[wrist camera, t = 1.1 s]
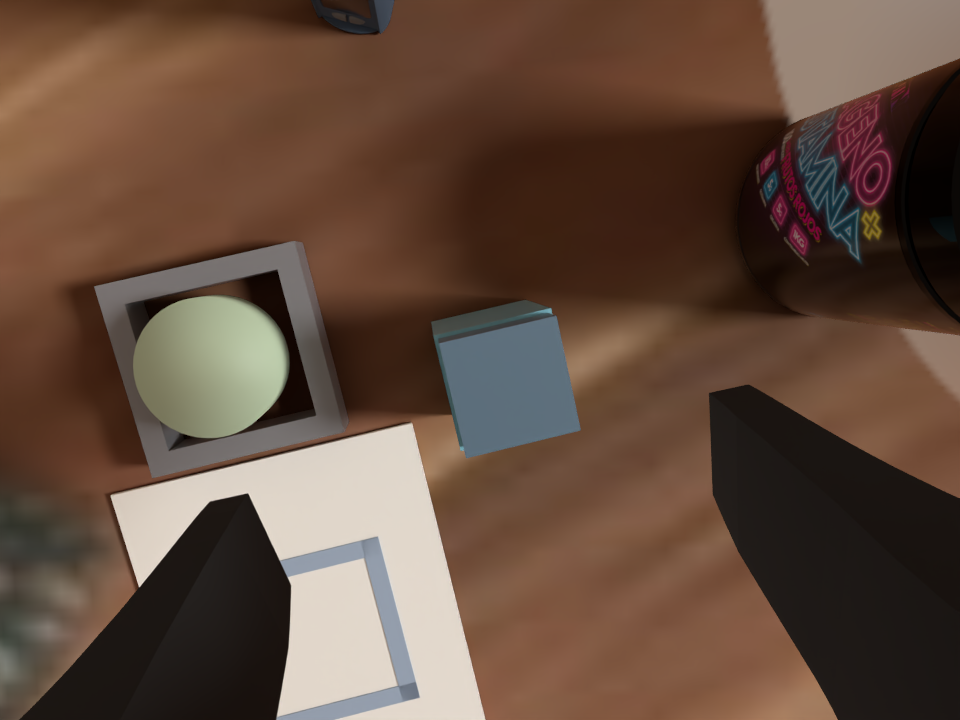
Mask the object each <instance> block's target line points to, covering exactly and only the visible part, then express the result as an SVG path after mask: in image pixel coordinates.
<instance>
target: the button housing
mask: <svg viewBox="0 0 960 720" xmlns="http://www.w3.org/2000/svg"><path fill="white" fill-rule="evenodd" d="M276 271H278V273H279V277H280V281H281V285H282V288H283V292H284V296H285V300H286V303H287V307H288V311H289V315H290V318H291V322H292V326H293V330H294V333H295V337H296V341H297V345H298V348H299V352H300V356H301V360H302V363H303V367H304V371H305V375H306V378H307V382H308V386H309V390H310V393H311V397H312V401H313V405H314V408H315V409H310V410H306V411H302V412H298V413H294V414H289V415H285V416H281V417H277V418H273V419H268V420H264V421H260V422H256V423H253V424H252V425H250V426H249V427H247V428H245V429H244V430H242V431H239V432H237V433H235V434H232V435H228V436H224V437H219V438H199V437H193V438H189V439H184V436H183V433H180V432H178V431H176V430H174V429H172V428H170V427H168V426H167V425H165V424H164V423H162V422H161V421H160V420H159V419H158V418H156V417H155V416H154V414H153V413H152V412H151V411H150V410H149V409H148V407H147V406H146V405H145V403H144V402H143V400H142V398H141V396H140V394H139V392H138V389H137V386H136V383H135V379H134V372H133V357H134V352H135V347H136V344H137V341H138V339H139V337H140V335H141V333H142V331H143V329H144V328H145V326H146V325H147V323H148V322H149V317H148V314H147V311H146V307H145V304H144V302H145V301H149V300H154V299H158V298H163V297H167V296H171V295H176V294H180V293H184V292H189V291H193V290H198V289H202V288H206V287H211V286H215V285H219V284H224V283H228V282H233V281H237V280H241V279H246V278H250V277H254V276H259V275H263V274H268V273H272V272H276ZM94 288H95V291H96V295H97V298H98V301H99V304H100V308H101V311H102V314H103V318H104V321H105V324H106V327H107V331H108V334H109V337H110V341H111V344H112V347H113V350H114V354H115V357H116V360H117V363H118V367H119V370H120V373H121V377H122V380H123V383H124V386H125V390H126V393H127V396H128V400H129V403H130V406H131V409H132V413H133V416H134V419H135V423H136V426H137V429H138V432H139V436H140V439H141V442H142V446H143V449H144V452H145V455H146V459H147V462H148V465H149V469H150V472H151V475H152V478H155V477H159V476H163V475H167V474H172V473H176V472H180V471H184V470H188V469H192V468H197V467H201V466H205V465H209V464H213V463H217V462H222V461H226V460H230V459H234V458H238V457H242V456H247V455H251V454H255V453H259V452H263V451H267V450H272V449H276V448H280V447H284V446H288V445H292V444H297V443H301V442H305V441H309V440H313V439H317V438H322V437H326V436H330V435H334V434H338V433H342V432H345V430H346V428H347V425H348V423H349V419H348V415H347V411H346V407H345V404H344V400H343V396H342V392H341V388H340V384H339V380H338V377H337V373H336V369H335V365H334V361H333V357H332V354H331V350H330V346H329V342H328V338H327V334H326V331H325V327H324V323H323V319H322V315H321V311H320V307H319V304H318V300H317V296H316V292H315V288H314V284H313V281H312V277H311V273H310V269H309V265H308V261H307V258H306V254H305V250H304V246H303V243H302V242H297V241H292V242H288V243H283V244H279V245H275V246H270V247H266V248H261V249H257V250H253V251H248V252H244V253H239V254H235V255H230V256H226V257H222V258H217V259H213V260H208V261H204V262H200V263H195V264H191V265H186V266H182V267H178V268H173V269H169V270H164V271H160V272H156V273H151V274H147V275H142V276H138V277H133V278H129V279H125V280H120V281H116V282H111V283H107V284H103V285H98V286H94Z"/></svg>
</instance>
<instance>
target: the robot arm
mask: <svg viewBox="0 0 960 720" xmlns="http://www.w3.org/2000/svg"><path fill="white" fill-rule="evenodd" d="M709 403H710V430H711V457H712V484H713V496H714V498H715V500H716V503H717V505H718V507H719V510H720V512H721V514H722V517H723V519H724V521H725V523H726V526H727V528H728V530H729V532H730V534H731V537H732V539H733V541H734V543H735V545H736V547H737V550H738V552H739V553H740V555H741V557H742V558H743V560H744V562H745V563H746V565H747V567H748V568H749V570H750V572H751V573H752V575H753V577H754V578H755V580H756V582H757V583H758V585H759V587H760V588H761V590H762V592H763V593H764V595H765V597H766V598H767V600H768V601H769V603H770V605H771V606H772V608H773V610H774V611H775V613H776V615H777V616H778V618H779V619H780V621H781V623H782V624H783V626H784V628H785V629H786V631H787V632H788V634H789V636H790V637H791V639H792V641H793V642H794V644H795V646H796V647H797V649H798V650H799V652H800V654H801V655H802V657H803V659H804V660H805V662H806V663H807V665H808V667H809V668H810V670H811V672H812V673H813V675H814V676H815V678H816V680H817V682H818V683H819V685H820V687H821V689H822V691H823V692H824V694H825V696H826V698H827V700H828V701H829V703H830V705H831V707H832V709H833V711H834V712H835V715H836V717H837V719H838V720H960V498H957V497H955V496H953V495H951V494H948V493H946V492H944V491H942V490H940V489H938V488H936V487H934V486H932V485H930V484H928V483H926V482H924V481H922V480H919V479H917V478H915V477H913V476H911V475H909V474H907V473H905V472H903V471H901V470H899V469H897V468H895V467H893V466H891V465H889V464H887V463H886V462H884V461H882V460H880V459H878V458H876V457H874V456H872V455H870V454H869V453H867V452H865V451H863V450H861V449H859V448H857V447H856V446H854V445H852V444H850V443H849V442H847V441H845V440H843V439H841V438H840V437H838V436H836V435H834V434H833V433H831V432H829V431H827V430H826V429H824V428H822V427H820V426H819V425H817V424H815V423H814V422H812V421H810V420H809V419H807V418H805V417H803V416H802V415H800V414H798V413H797V412H795V411H793V410H792V409H790V408H788V407H787V406H785V405H783V404H782V403H780V402H778V401H776V400H775V399H773V398H771V397H770V396H768V395H766V394H765V393H763V392H761V391H759V390H758V389H756V388H754V387H752V386H750V385H744V386H739V387H735V388H730V389H726V390H721V391H716V392H712V393H709ZM290 612H291V584H290V581H289V579H288V577H287V575H286V573H285V571H284V569H283V567H282V564H281V562H280V560H279V558H278V556H277V554H276V552H275V549H274V547H273V545H272V543H271V541H270V539H269V537H268V535H267V532H266V530H265V528H264V526H263V524H262V522H261V520H260V517H259V515H258V513H257V511H256V509H255V507H254V505H253V503H252V500H251V498H250V496H249V494H248V493H247V494H242V495H237V496H233V497H228V498H224V499H219V500H214V501H210V502H209V503H208V504H207V505H206V506H205V507H204V508H203V510H202V511H201V512H200V513H199V514H198V515H197V517H196V518H195V519H194V520H193V521H192V523H191V524H190V525H189V526H188V528H187V529H186V530H185V531H184V533H183V534H182V535H181V536H180V538H179V539H178V540H177V541H176V543H175V544H174V545H173V546H172V548H171V549H170V550H169V551H168V553H167V554H166V555H165V556H164V558H163V559H162V560H161V561H160V563H159V564H158V565H157V566H156V568H155V569H154V570H153V571H152V572H151V574H150V575H149V576H148V577H147V579H146V580H145V581H144V582H143V584H142V585H141V586H140V587H139V588H138V590H137V591H136V592H135V593H134V595H133V596H132V597H131V598H130V599H129V601H128V602H127V603H126V604H125V606H124V607H123V608H122V609H121V610H120V612H119V613H118V614H117V615H116V616H115V617H114V618H113V619H112V621H111V622H110V623H109V624H108V625H107V626H106V627H105V629H104V630H103V631H102V632H101V633H100V634H99V635H98V636H97V638H96V639H95V640H94V641H93V642H92V643H91V644H90V646H89V647H88V648H87V649H86V650H85V651H84V652H83V653H82V655H81V656H80V657H79V658H78V659H77V660H76V661H75V663H74V664H73V665H72V666H71V667H70V668H69V669H68V670H67V671H66V673H65V674H64V675H63V676H62V677H61V678H60V679H59V680H58V681H57V682H56V683H55V684H54V685H53V686H52V687H51V688H50V689H49V690H48V691H47V693H46V694H45V695H44V696H43V697H42V698H41V699H40V700H39V701H38V702H37V703H36V704H35V705H34V706H33V707H32V708H31V709H30V710H29V711H28V712H27V713H26V714H25V715H24V716H23V717H22V718H21V719H20V720H276V719H277V713H278V708H279V702H280V696H281V691H282V685H283V679H284V673H285V667H286V661H287V655H288V649H289V633H290Z"/></svg>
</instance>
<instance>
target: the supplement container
mask: <svg viewBox="0 0 960 720" xmlns="http://www.w3.org/2000/svg"><path fill="white" fill-rule="evenodd" d="M735 226H736V236H737V242H738V246H739V250H740V253H741V256H742V258H743V261H744V263H745V265H746V267H747V269H748V271H749V273H750V274H751V276H752V277H753V279H754V280H755V282H756V283H757V284H758V285H759V286H760V288H761V289H762V290H763V291H764V292H765V293H766V294H767V295H768V296H769V297H771V298H772V299H773V300H775V301H776V302H777V303H779V304H781V305H782V306H784V307H786V308H788V309H790V310H792V311H794V312H797V313H800V314H803V315H808V316H812V317H819V318H827V319H835V320H843V321H850V322H858V323H866V324H874V325H881V326H889V327H897V328H905V329H912V330H920V331H928V332H935V333H943V334H951V335H959V336H960V58H959V59H957V60H954V61H951V62H949V63H946V64H944V65H941V66H938V67H936V68H933V69H931V70H928V71H925V72H923V73H920V74H918V75H916V76H913V77H910V78H908V79H905V80H902V81H900V82H897V83H894V84H892V85H889V86H887V87H884V88H882V89H879V90H877V91H874V92H871V93H869V94H866V95H864V96H861V97H858V98H856V99H853V100H851V101H848V102H845V103H843V104H840V105H838V106H835V107H833V108H830V109H828V110H825V111H822V112H820V113H817V114H815V115H812V116H810V117H807V118H804V119H802V120H799V121H797V122H795V123H793V124H791V125H790V126H788V127H787V128H785V129H784V130H782V131H781V132H780V133H778V134H777V135H776V136H774V137H773V138H772V139H771V140H770V141H769V142H768V143H767V144H766V145H765V146H764V148H763V149H762V150H761V151H760V152H759V154H758V155H757V157H756V158H755V159H754V161H753V162H752V164H751V166H750V168H749V170H748V171H747V174H746V176H745V178H744V181H743V183H742V186H741V189H740V192H739V196H738V201H737V206H736V219H735Z"/></svg>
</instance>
